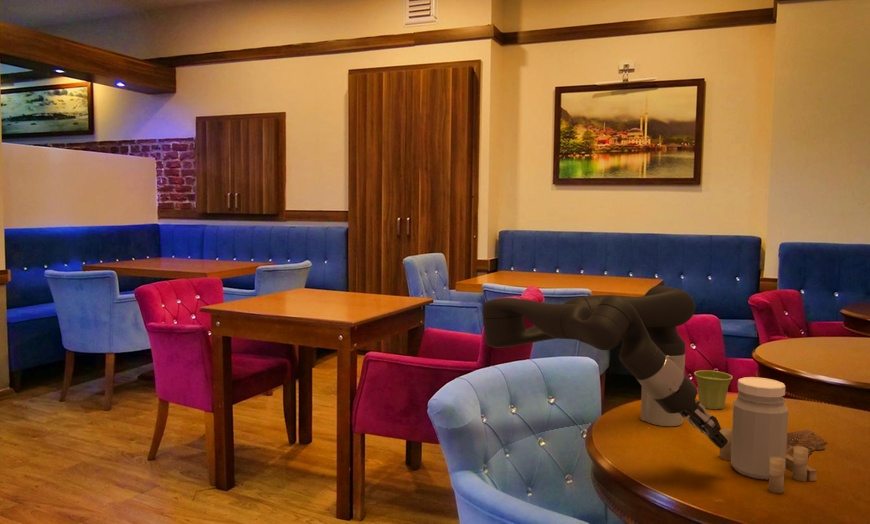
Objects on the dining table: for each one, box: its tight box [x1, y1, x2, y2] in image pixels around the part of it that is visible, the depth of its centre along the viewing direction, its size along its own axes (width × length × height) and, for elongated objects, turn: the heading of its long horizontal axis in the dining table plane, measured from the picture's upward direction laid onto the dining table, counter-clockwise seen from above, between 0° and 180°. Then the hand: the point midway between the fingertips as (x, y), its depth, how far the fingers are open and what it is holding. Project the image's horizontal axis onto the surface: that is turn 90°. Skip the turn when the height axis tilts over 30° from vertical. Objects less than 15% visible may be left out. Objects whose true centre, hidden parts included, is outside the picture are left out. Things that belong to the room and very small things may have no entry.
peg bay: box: [719, 427, 818, 494], centre depth 126 cm, size 12×18×6 cm, turn 7°
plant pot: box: [693, 369, 733, 410], centre depth 169 cm, size 9×9×9 cm
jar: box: [730, 376, 789, 481], centre depth 126 cm, size 10×10×18 cm
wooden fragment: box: [786, 429, 828, 458], centre depth 142 cm, size 26×11×1 cm, turn 132°
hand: (722, 444), depth 123 cm, fingers closed
